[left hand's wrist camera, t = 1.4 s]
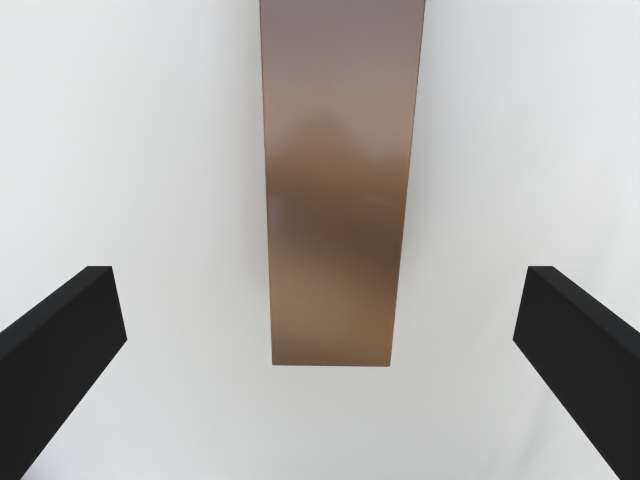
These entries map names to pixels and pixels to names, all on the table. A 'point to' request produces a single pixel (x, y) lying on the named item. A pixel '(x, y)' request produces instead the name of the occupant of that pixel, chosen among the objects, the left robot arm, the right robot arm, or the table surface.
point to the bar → (337, 172)
